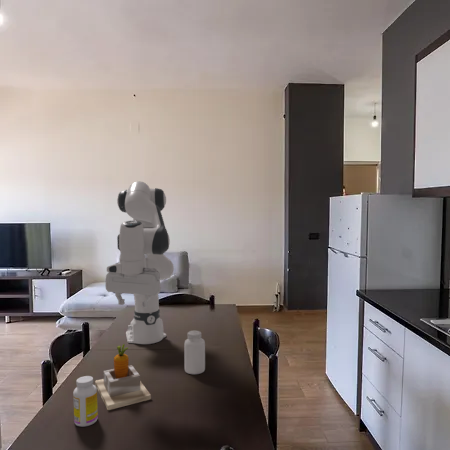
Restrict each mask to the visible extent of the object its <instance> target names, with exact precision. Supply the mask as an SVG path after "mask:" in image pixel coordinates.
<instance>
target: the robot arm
mask: <svg viewBox="0 0 450 450" xmlns="http://www.w3.org/2000/svg"><path fill="white" fill-rule="evenodd" d="M116 201H117V206H118V208H119V209H118V210H120V211H121V212H122V213H126V214H127V215H128V216H129V217H130V218H131V219H132V220H126V221H124V222H121V223H120V228H119V233H118V235H117V236H116V237H117V238H116V239H117V242H116V243H117V249H118V251H120V254H119V261H118V262H116V263H114V264H110V265H108V266H107V267H106V272H107V274H106V275H105V290H106V292H109V293H114V294H115V297H116V299H117V302H118V304H117V305H119V306H123V305H125V298H123V297H122V294H130V295H133V297H134V311H133V318H132V320H131V321H130V324H128V325H127V330H126V332H125V336H126V340H127V341H126V342H127V343H128V344H137V345H151V344H155V343H158V342H161V341H162V340H163V339H164V338H167V333H165V332H164V322H163V319H162V318H160V316H161V312H160V308H159V307H160V304H159V303H160V301H159V294H160V293H161V291H162V288H161V281H163V280H168V279H170V278H171V277H172V275H173V273H174V270H175V268H174V267H175V266H174V264H173V262H172V260H171V259H170V258H168V257H167V256H166V255H164V253H166V252H167V251H168V250H169V249H170V243H171V241H170V235H169V233H168V230H167V228H166V226H165V222H164V217H163V215H162V211H163V210H164V208H165V207H166V203H167V196H166V193H165V191H164V190H163V189H161V188H157V187H156V188H150V187H149V185H148V183H146V182H144V181H138V180H137V181H134V182H132V183H131V185H129V187H128V189H124V190H121V191H120V192H119V193H118V195H117V199H116ZM145 255H146V256H145Z"/></svg>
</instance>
